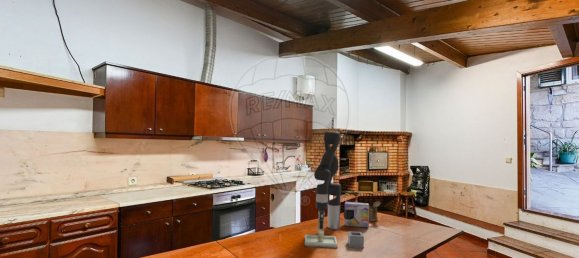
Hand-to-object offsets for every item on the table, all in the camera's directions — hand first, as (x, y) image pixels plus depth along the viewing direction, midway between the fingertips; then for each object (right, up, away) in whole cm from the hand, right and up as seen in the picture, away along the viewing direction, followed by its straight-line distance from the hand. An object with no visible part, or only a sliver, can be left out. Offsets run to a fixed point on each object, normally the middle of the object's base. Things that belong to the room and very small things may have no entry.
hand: (321, 227), depth 189 cm
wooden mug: (+49, -13, +56) cm, 76 cm away
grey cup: (+22, -10, -2) cm, 24 cm away
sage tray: (0, -10, 0) cm, 10 cm away
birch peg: (0, -8, 0) cm, 8 cm away
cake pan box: (+31, -12, +41) cm, 53 cm away
